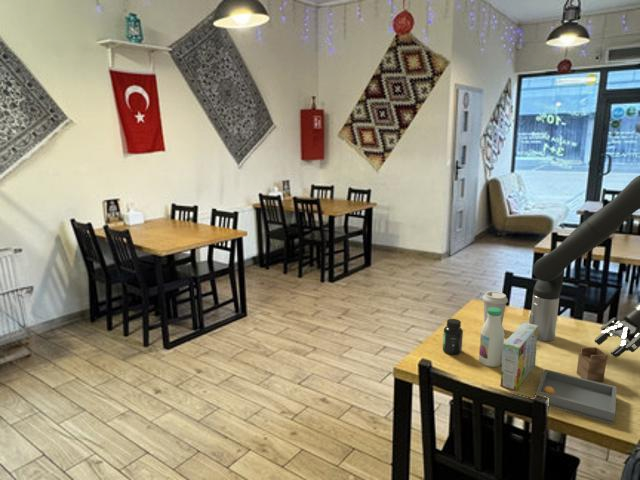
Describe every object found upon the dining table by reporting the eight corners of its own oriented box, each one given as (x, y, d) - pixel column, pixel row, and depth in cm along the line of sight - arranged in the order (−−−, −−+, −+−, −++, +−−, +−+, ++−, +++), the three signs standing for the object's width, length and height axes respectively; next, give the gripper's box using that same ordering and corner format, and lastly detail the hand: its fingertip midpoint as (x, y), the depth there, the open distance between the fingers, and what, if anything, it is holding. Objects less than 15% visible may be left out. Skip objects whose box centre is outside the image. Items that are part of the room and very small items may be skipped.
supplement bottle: (440, 353, 169) (442, 323, 166) (444, 345, 175) (446, 316, 172) (460, 356, 166) (462, 326, 163) (462, 348, 172) (465, 319, 169)
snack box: (518, 360, 163) (522, 321, 160) (535, 365, 160) (540, 325, 156) (498, 385, 147) (502, 342, 144) (516, 391, 144) (521, 347, 140)
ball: (551, 398, 137) (546, 389, 138) (544, 398, 140) (539, 389, 141) (558, 393, 138) (553, 384, 139) (551, 393, 141) (546, 384, 141)
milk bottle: (501, 358, 165) (506, 306, 160) (502, 369, 157) (507, 314, 153) (478, 355, 167) (482, 304, 162) (478, 365, 160) (482, 312, 155)
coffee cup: (484, 322, 195) (486, 289, 192) (507, 327, 190) (510, 293, 187) (477, 330, 188) (479, 295, 184) (501, 336, 182) (504, 300, 179)
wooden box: (592, 373, 155) (596, 347, 152) (603, 381, 149) (607, 355, 147) (576, 373, 154) (579, 347, 152) (586, 382, 149) (590, 355, 147)
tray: (535, 402, 138) (536, 391, 137) (543, 378, 151) (544, 369, 150) (613, 424, 128) (615, 413, 127) (614, 397, 140) (616, 386, 140)
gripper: (623, 300, 153) (584, 332, 156) (654, 317, 139) (611, 352, 142) (636, 314, 155) (598, 346, 157) (668, 332, 141) (625, 367, 143)
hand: (604, 349), depth 150 cm, fingers open, 8 cm apart
